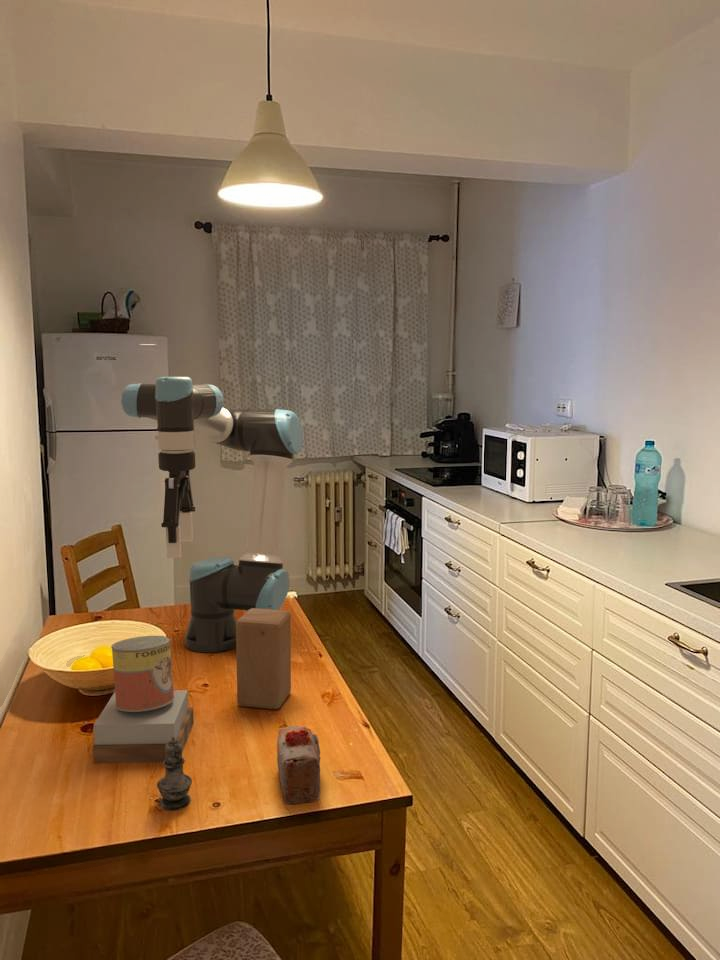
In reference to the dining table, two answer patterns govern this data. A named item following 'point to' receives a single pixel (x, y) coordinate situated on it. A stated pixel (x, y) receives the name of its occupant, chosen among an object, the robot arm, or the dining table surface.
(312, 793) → the food item
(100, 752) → the walnut block
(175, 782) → the dark chess piece
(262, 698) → the wooden block
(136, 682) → the canned food
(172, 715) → the grey block
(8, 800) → the dining table surface
